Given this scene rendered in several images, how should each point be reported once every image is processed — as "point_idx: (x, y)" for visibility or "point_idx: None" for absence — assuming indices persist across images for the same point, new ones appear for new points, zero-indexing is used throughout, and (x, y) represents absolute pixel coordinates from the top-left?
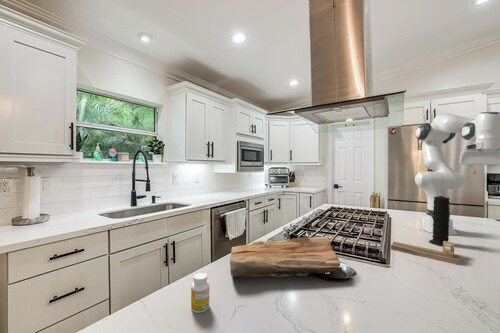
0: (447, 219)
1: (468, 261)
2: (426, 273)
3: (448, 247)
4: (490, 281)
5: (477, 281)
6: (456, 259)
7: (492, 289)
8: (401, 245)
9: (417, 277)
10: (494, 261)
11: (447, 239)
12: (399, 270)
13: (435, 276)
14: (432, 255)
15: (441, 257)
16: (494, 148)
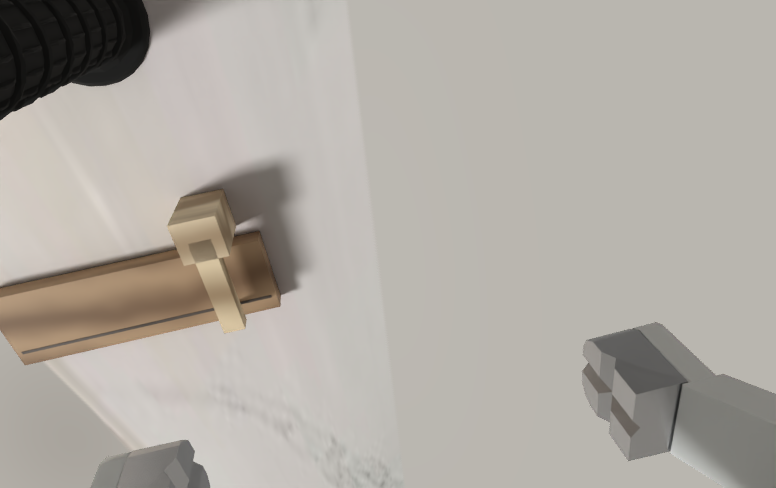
0: (53, 66)
1: (289, 223)
2: (246, 438)
3: (231, 315)
4: (377, 349)
5: (353, 377)
6: (269, 304)
7: (387, 393)
8: (47, 328)
9: (245, 475)
10: (357, 124)
11: (110, 28)
12: None
13: (270, 435)
14: (192, 323)
15: None
16: None
